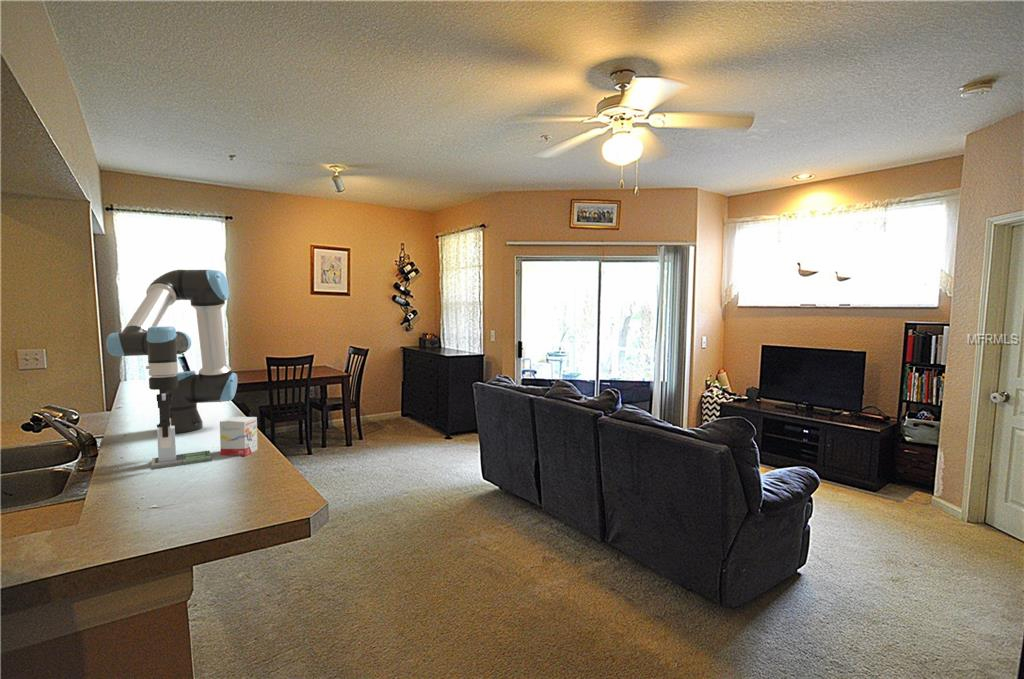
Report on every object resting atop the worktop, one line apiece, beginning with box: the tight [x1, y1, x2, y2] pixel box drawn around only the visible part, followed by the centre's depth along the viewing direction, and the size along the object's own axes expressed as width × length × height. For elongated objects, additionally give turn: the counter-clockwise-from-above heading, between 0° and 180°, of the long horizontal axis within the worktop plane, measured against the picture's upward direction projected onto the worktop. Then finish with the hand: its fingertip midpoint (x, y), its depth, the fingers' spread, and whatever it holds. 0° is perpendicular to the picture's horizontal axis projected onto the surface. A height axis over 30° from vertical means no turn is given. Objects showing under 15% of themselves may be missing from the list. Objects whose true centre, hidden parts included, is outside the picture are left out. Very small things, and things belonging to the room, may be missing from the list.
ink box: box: [219, 416, 258, 457], centre depth 174 cm, size 9×9×12 cm
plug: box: [156, 424, 177, 463], centre depth 162 cm, size 4×4×12 cm
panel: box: [150, 450, 213, 471], centre depth 164 cm, size 13×16×2 cm
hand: (166, 443), depth 162 cm, fingers open, 13 cm apart
